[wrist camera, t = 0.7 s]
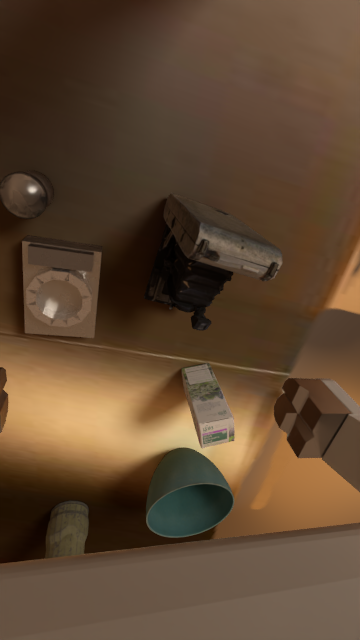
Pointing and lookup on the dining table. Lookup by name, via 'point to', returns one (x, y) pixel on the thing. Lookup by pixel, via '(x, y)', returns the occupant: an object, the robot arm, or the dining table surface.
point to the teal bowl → (187, 495)
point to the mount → (60, 286)
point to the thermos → (67, 530)
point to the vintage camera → (205, 257)
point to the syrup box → (207, 406)
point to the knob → (26, 193)
